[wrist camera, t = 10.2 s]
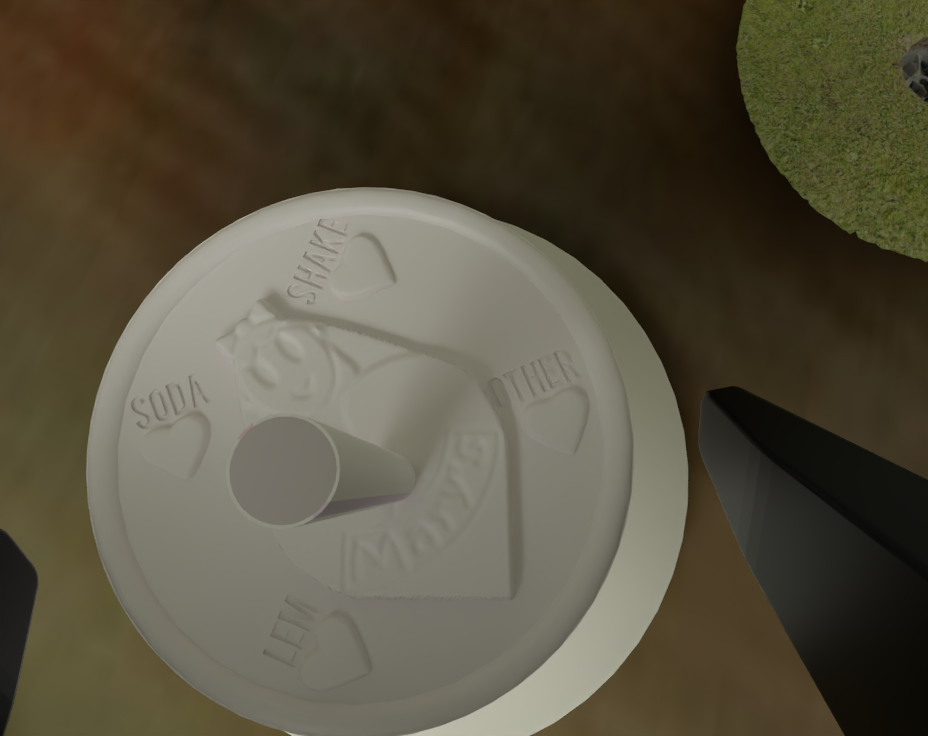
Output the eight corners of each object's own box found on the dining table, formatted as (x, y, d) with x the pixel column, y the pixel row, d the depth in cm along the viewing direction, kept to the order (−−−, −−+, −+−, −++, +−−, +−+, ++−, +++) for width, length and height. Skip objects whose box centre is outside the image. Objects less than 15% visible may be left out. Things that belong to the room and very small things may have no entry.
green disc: (762, -103, 21) (791, -162, 19) (1123, -7, 20) (1192, -58, 18) (669, 220, 19) (691, 191, 17) (1063, 337, 19) (1131, 320, 17)
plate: (722, 290, 19) (736, 279, 18) (611, 817, 17) (620, 838, 16) (252, 171, 20) (240, 154, 19) (82, 659, 17) (59, 669, 16)
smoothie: (422, 654, 16) (142, 1580, 3) (245, 469, 17) (-694, 401, 3) (600, 463, 17) (1138, 376, 3) (422, 295, 18) (243, -349, 4)
